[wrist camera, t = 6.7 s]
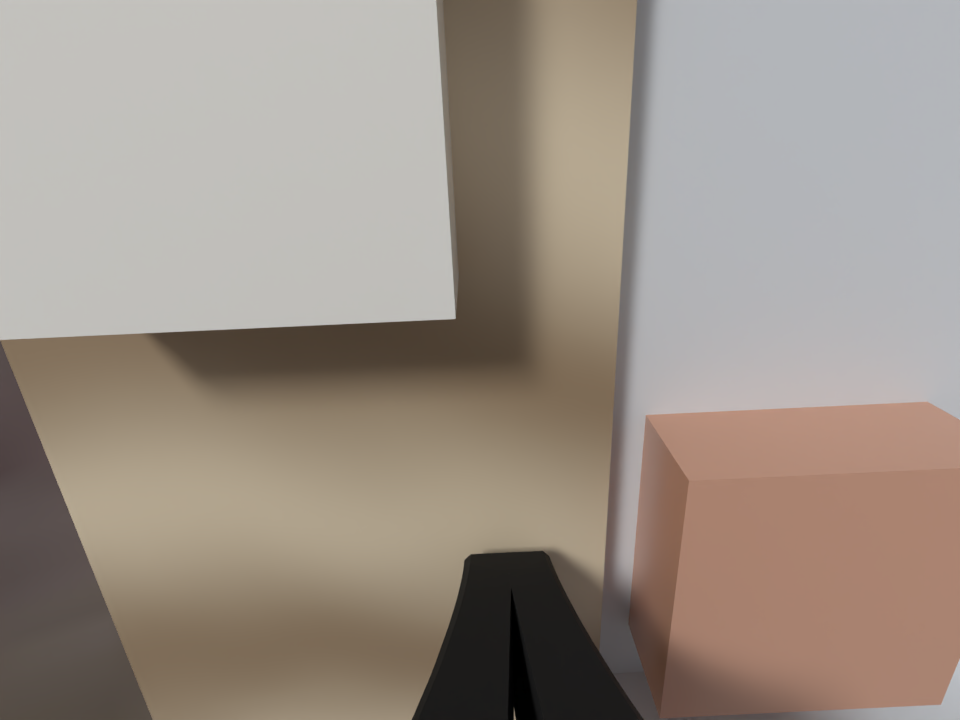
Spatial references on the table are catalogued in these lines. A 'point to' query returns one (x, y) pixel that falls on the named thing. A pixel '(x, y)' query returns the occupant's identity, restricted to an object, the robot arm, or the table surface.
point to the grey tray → (783, 239)
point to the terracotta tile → (798, 559)
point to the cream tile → (223, 165)
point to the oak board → (371, 416)
